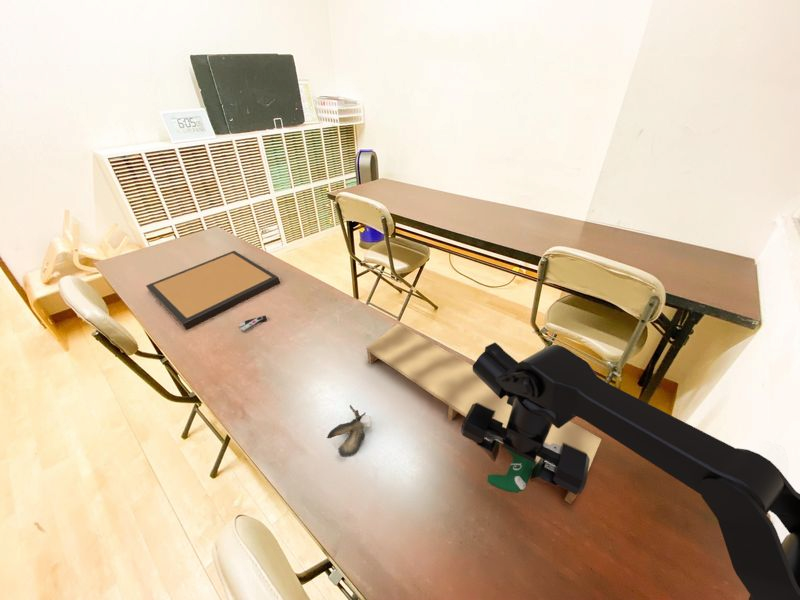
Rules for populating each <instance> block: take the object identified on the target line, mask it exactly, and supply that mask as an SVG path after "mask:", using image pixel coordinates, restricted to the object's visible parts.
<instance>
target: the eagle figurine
mask: <svg viewBox="0 0 800 600" xmlns="http://www.w3.org/2000/svg"><path fill="white" fill-rule="evenodd" d="M349 409H350V410H351V411H352V413H353V414H354V416H355V417H354V418H353V419H352V420H351V421H349V422H345V423H340V424H338V425H336V426H335V427H334V428H332V429H331V430H330V431H329V432H328V434H327V436H326V439H332V438H334V437H338V436H342V435H345V434H348V436H347V437H346V439H345V440H344V442H342V444H340V446H339V447H338V448H337V450H338V454H339V456H340V457H341V458H344V457H345V458H347V457H351V456H354V455H356V453H357V452H358V451H359V448H360V447H361V445H362V443H363V442H364V441H365V436H366V434H365V431H364V428H370V427H371V426H372V423H373V420H372V417H371V416H369V415H367V414H366V413H367V412H364V413H363V414H361V415H360V413H359V410H358V409H355V408H354V407H353V406H352V404H349Z"/></svg>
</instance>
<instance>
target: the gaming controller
mask: <svg viewBox="0 0 800 600" xmlns="http://www.w3.org/2000/svg"><path fill="white" fill-rule="evenodd" d="M504 449H505V450H506V451H507V453H509V454H510V455H511V456H512V457H513V459H512V460H511V463H510V465H509V467H508V469H507V472H506V474H498V473H492V474H487V477H486V482H487V484H489V485H491V486H492V487H495V488H497V489H499V490H502V491H505V492H508V493H515V494H518V493H520V492H521V493H522V492H524V491H525V490H526V487H527V484H528V483H529V478H530V476H531V473H532V471H533V468H534V467H535V466H536V460H537V457H536V459H535V462H534V463H533V462H532V461H530V460H528V459H526V458H524V457H522V456H520V455H518V454H516V453H514V452H512V451H510V450H508V449H506V448H504Z"/></svg>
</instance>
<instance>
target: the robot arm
mask: <svg viewBox="0 0 800 600" xmlns="http://www.w3.org/2000/svg"><path fill="white" fill-rule="evenodd" d="M472 366H473V372H474V373H475V374H476V375H477V376H478V377H479V378H480V379H481V380H482V381H483V382H484V383H485V384H486V385H487V386H488V387H489V388H490V389H491V390H492V391H493V392H494V393H495V394H496V395H497V396H498V397H499V398H500V399H502V398H503V397H504V396H506V395H507V396H508V400H507V404H509V405H511V406H512V410H511V413H510V416H509V420H508V423H507V427H506V428H504V427H503V423H502V422H500V421H498V420H496V419H493V417H494V415H495V412H496V411H495V410H493V409H491V408H489V407H487V406H484V405H482V404H480V403H478V402H477V403H475V404H472V406H471V408H470V410H469V412H468V414H467V416H466V417H464V420H463V422H462V424H461V429H460V432H461V435H462V436H463V437H465V438H466V439H468V440H470V441H472V442H474V443H475V444H476V445H477V446H478V447H480V448H481V449H482V450H483V451H484V453H486V455H488V457H489V458H490V460H492V462H494V463H496V460H497V458H498V455H499V453H500V444H502V448H504V449H505V448H506V449H508V450H510V451H512V452H514V453H516V454H518V455H520V456H522V457H524V458H526V459H528V460H530V461H532V462H533V463H534V462H535V459H536V456H538V457H540V460H539V461H538V463H537V464H535V465H534V468H533V471H532V473H531V476H530V478H529V480H528V482H529V481H530V482H531V483H532V482H533V483H544V484H549V485H553V486H554V487H560V488H563V489H564V490H566V491H567V492H568V491H570V492H572V493H574V494H575V495H577V496H578V495H580V494H582V492H583V491H584V489H585V487H586V484H587V480H588V479H587V478H588V473H589V471H588V468H589V462H590V459H589V457H588V455H587V453H586V452H584V451H582V450H579V449H577V448H575V447H573V446H571V445H569V444H567V443H564V442H563V443H562V445H561V446H559V445H557V444H555V443H552V444H551V445H549V444H547V443H545V440H546V438H547V436H548V433H549V431H550V429H551V426H552V424H553V425H554V426H555V427H556V428H560V427H562V426H563V425H565V424H566V423H567V422H569V421H570V422H571V421H572V420H574V419H575V418H576V417H578V418H579V419H581V420H583V421H585V422H586V423H588V424H590V425H591V426H593V427H594V428H596V429H597V430H599V431H600V432H602V433H603V434H605V435H606V436H609V437H610V438H612V439H613V440H615V441H617V442H618V443H619V444H620V445H623V446H624V447H625V448H626V449H629V450H630V451H631V452H633V453H635V454H637V455H638V456H640V457H641V458H643V459H644V460H646V461H648V462H649V463H651V464H652V465H654V466H655V467H656V468H658V469H660V470H662V471H663V472H664V473H667V474H668V475H670V476H671V477H673V478H674V479H676V480H678V482H680V483H682V484H683V485H685V486H687V487H688V488H690V489H691V490H693V491H695V492H696V493H698V494H699V495H700V496H701V498H702V500H703V501H704V502H705V504H706V505H707V507H708V509H709V510H710V511H711V512H712V514H713V515H714V517H715V519H716V520H717V522H718V525H719V528H720V531H721V535H722V537H723V542H724V544H725V547H726V550H727V553H728V556H729V559H730V563H731V565H732V568H733V571H734V572H735V574H736V577H738V579H739V581H740V582H741V583H742V585H743V586H744V588H745V589H746V591H747V592H748V593H749V597H748V600H800V493H799V492H798V491H797V490H796V489H795V488H794V487H793V486H792V484H791V483H790V482H789V480H788V479H787V478H786V477H785V475H784V474H783V473H782V472H781V470H780V469H779V468H778V467H777V466H776V465H775V464H774V463H773V462H772V461H771V460H769V459H768V458H766V457H764V456H763V455H761V454H760V453H758V452H755V451H752V450H750V449H746V448H739V447H737V448H736V447H734V446H732V445H730V444H728V443H726V442H725V441H722V440H720V439H718V438H717V437H714V436H712V435H710V434H708V433H707V432H705V431H702V430H700V429H698V428H697V427H696V426H693V425H691V424H689V423H687V422H685V421H683V420H681V419H679V418H678V417H675V416H673V415H671V414H669V413H667V412H665V411H664V410H661V409H659V408H657V407H655V406H654V405H652V404H650V403H647V402H646V401H644V400H642V399H640V398H638V397H636V396H634V395H632V394H630V393H627V392H626V391H624V390H622V389H621V388H618V387H616V386H614V385H612V384H610V383H608V382H607V381H605V380H603V379H602V378H601V377H599V376H598V375H597V373H596V372H595V370H594V369H593V367H592V366H591V364H590V362H588V361H587V360H585V359H583V357H580V356H579V355H578V354H575V353H574V352H573V351H571V350H570V349H568V348H566V347H564V346H562V345H559V344H551V345H548V346H545V347H544V348H543V349H541V350H539V351H537V352H535V353H534V354H532V355H530V356H527V357H526V358H524V359H523V360H521V361H519V362H518V361H517V359H515V358H514V357H512V356H511V355H510V354H509V353H508V352H506V350H504V349H503V347H502V346H501V345H499V344H498V343H497V342H492V343H491V344H488V345H486V346H485V349H484V351H483V352H482V353H481V354H480V355H479V356H478V357H477V359H476V360H475V362H474V363H473V364H472ZM506 449H505V450H506ZM589 469H590V468H589ZM769 512H771V513H773V515H775V516H776V517H777V518H778V520H779V521H780V522H781V523H782V525H783V526H784V528H785V529H786V530H787V532H788V533H789V534H787V535H786V536H785V537H784V539H783V540H782V542H781V539H780V536H779V534H778V530H777V528H776V527H775V525H774V523H773V521H771V519H770V518H769V516H768V514H769Z"/></svg>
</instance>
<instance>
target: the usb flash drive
mask: <svg viewBox="0 0 800 600" xmlns="http://www.w3.org/2000/svg"><path fill="white" fill-rule="evenodd" d="M267 320H268V317H267V315H261V316H257V317H253V318H250V319H247V320H244V321H241V322H238V327H239V328H240V331H242V332H244V333H247V332H248V331H250V330H252V329H253V328H255V327H256V326H258V325H259V324H261V323H263V322H266V321H267Z"/></svg>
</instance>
